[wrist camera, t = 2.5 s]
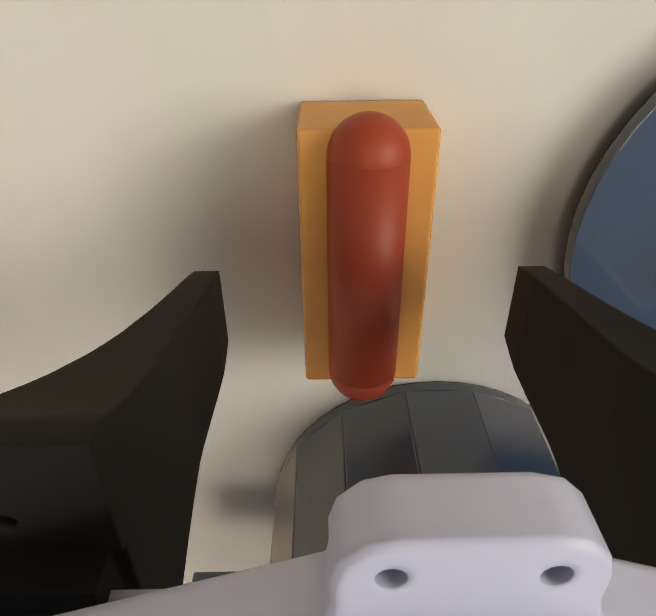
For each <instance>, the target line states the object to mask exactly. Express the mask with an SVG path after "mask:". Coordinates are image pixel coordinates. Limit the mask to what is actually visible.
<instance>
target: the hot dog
mask: <svg viewBox="0 0 656 616" xmlns="http://www.w3.org/2000/svg"><path fill="white" fill-rule="evenodd" d="M440 135H441V129H440V127H439V125H438V124H437V122H436V121H435V119H434V118H433V116H432V114H431V113H430V111H429V110H428V108H427V107H426V105H425V103H424V102H423V101H422V100H390V101H313V102H301V103H300V106H299V113H298V121H297V129H296V144H297V169H298V193H299V218H300V242H301V267H302V291H303V316H304V341H305V365H306V377H307V379H331V380H332V382H333V384H334V385H335V387H336V388H337V389H338V390H339V391H340V392H341V393H342V394H343V395H345V396H347V397H349V398H351V399H354V400H362V401H364V400H371V399H374V398H376V397H378V396H380V395H382V394H383V393H384V392H385V391H386V390H387V389H388V388H389V387H390V385H391V384H392V382H393V379H394V378H415V377H416V375H417V368H418V358H419V348H420V338H421V327H422V317H423V307H424V297H425V287H426V277H427V267H428V257H429V247H430V236H431V226H432V216H433V206H434V196H435V186H436V176H437V166H438V155H439V145H440Z"/></svg>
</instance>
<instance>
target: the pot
mask: <svg viewBox="0 0 656 616" xmlns="http://www.w3.org/2000/svg"><path fill="white" fill-rule="evenodd" d="M501 472H534V473H539V474H545V475H551V476H557V477H561V476H560V473H559V470H558V467H557V464H556V461H555V458H554V455H553V453H552V451H551V448H550V446H549V443H548V441H547V439H546V437H545V435H544V432H543V430H542V428H541V426H540V424H539V422H538V420H537V418H536V415H535V413H534V411H533V409H532V407H531V406H530V405H529V404H527V403H525V402H523V401H521V400H519V399H518V398H516V397H514V396H511V395H508V394H506V393H503V392H501V391H498V390H494V389H490V388H487V387H483V386H479V385H472V384H465V383H458V382H424V383H412V384H406V385H400V386H394V387H390V388H388V389H387V390H386V391H385V392H384V393H383V394H382V395H380V396H378V397H376V398H374V399H371V400H364V401H362V400H354V399H353V400H351V401H349V402H347V403H345V404H343V405H341V406H339V407H337V408H335V409H334V410H332V411H331V412H329V413H328V414H326V415H325V416H323V417H322V418H320V419H319V420H318V421H317V422H315V423H314V424H313V425H312V426H311V427H310V428H308V429H307V430H306V431H305V432H304V434H303V435H302V436H301V437H300V438H299V439H298V440H297V442H296V443H295V444H294V446H293V447H292V449H291V451H290V452H289V454H288V455H287V457H286V460H285V462H284V465H283V467H282V470H281V475H280V479H279V481H278V483H277V486H276V498H275V510H274V523H273V535H272V548H271V560H270V564H272V563H276V562H280V561H285V560H289V559H293V558H297V557H301V556H306V555H310V554H314V553H318V552H322V551H325V550H326V548H327V545H328V540H329V526H328V517H329V515H330V512H331V510H332V507H333V505H334V502H335V500H336V497H338V496H339V495H341V494H342V493H344V492H345V491H347V490H348V489H350V488H351V487H353V486H354V485H356V484H357V483H359V482H360V481H362V480H365V479H371V478H376V477H381V476H386V475H391V474H444V473H501ZM230 573H234V572H195V573H194V575H193V580H192V582H196V581H201V580H205V579H209V578H213V577H217V576H222V575H226V574H230Z"/></svg>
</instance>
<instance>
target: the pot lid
mask: <svg viewBox="0 0 656 616" xmlns="http://www.w3.org/2000/svg"><path fill="white" fill-rule="evenodd" d="M564 277H565V278H567V279H568V280H570V281H572V282H573V283H575V284H576V285H578V286H580V287H581V288H583V289H585V290H586V291H588V292H589V293H591V294H593V295H594V296H596V297H598V298H599V299H601V300H603V301H604V302H606V303H608V304H609V305H611V306H613V307H615V308H616V309H618V310H620V311H622V312H623V313H625V314H627V315H629V316H631V317H633V318H634V319H636V320H638V321H640V322H642V323H644V324H646V325H648V326H650V327H652V328H654V329H656V92H655V93H654V94H653V95H652V96H651V98H650V99H649V100H648V101H647V102H646V103H645V104H644V105H643V106H642V107H641V108H640V109H639V111H638V112H637V113H636V114H635V115H634V116H633V117H632V118H631V119H630V120H629V122H628V123H627V124H626V126H625V127H624V128H623V130H622V131H621V132H620V134H619V135H618V136H617V138H616V139H615V140H614V142H613V143H612V144H611V146H610V147H609V148H608V150H607V151H606V153H605V155H604V156H603V158H602V160H601V161H600V163H599V165H598V166H597V168H596V170H595V171H594V173H593V175H592V176H591V178H590V180H589V182H588V185H587V187H586V189H585V191H584V193H583V195H582V198H581V200H580V202H579V204H578V206H577V210H576V213H575V216H574V219H573V222H572V225H571V229H570V232H569V236H568V242H567V248H566V254H565V262H564Z"/></svg>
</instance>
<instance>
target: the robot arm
mask: <svg viewBox="0 0 656 616" xmlns="http://www.w3.org/2000/svg"><path fill="white" fill-rule="evenodd" d="M505 339H506V343H507V347H508V350H509V354H510V357H511V361H512V364H513V367H514V370H515V372H516V375H517V377H518V379H519V381H520V383H521V386H522V388H523V390H524V392H525V394H526V396H527V399H528V401H529V403H530V405H531V407H532V409H533V411H534V413H535V415H536V418H537V420H538V422H539V424H540V426H541V428H542V430H543V432H544V435H545V437H546V439H547V441H548V443H549V446H550V448H551V451H552V453H553V455H554V458H555V461H556V464H557V467H558V470H559V473H560V476H561V477H557V476H551V475H545V474H539V473H534V472H501V473H444V474H391V475H386V476H381V477H376V478H371V479H365V480H362V481H360V482H359V483H357V484H356V485H354V486H353V487H351V488H350V489H348V490H347V491H345V492H344V493H342V494H341V495H339V496H338V497H336V500H335V502H334V505H333V507H332V510H331V512H330V515H329V517H328V526H329V540H328V545H327V548H326V550H325V551H322V552H318V553H314V554H310V555H306V556H301V557H297V558H293V559H289V560H285V561H280V562H276V563H272V564H268V565H264V566H259V567H255V568H251V569H247V570H243V571H238V572H234V573H230V574H226V575H222V576H217V577H213V578H209V579H205V580H201V581H196V582H192V583H188V584H184V585H183V579H184V571H185V563H186V555H187V547H188V539H189V532H190V525H191V518H192V511H193V504H194V497H195V491H196V485H197V478H198V472H199V466H200V461H201V456H202V452H203V448H204V444H205V440H206V437H207V433H208V430H209V426H210V423H211V419H212V416H213V412H214V408H215V405H216V401H217V398H218V394H219V390H220V387H221V383H222V379H223V376H224V370H225V363H226V355H227V347H228V334H227V326H226V319H225V311H224V304H223V296H222V289H221V281H220V274H219V271H194V272H193V273H191V274H190V275H189V276H188V277H187V278H186V279H184V280H183V281H182V282H181V283H180V284H179V285H178V286H177V287H176V288H175V289H174V290H172V291H171V292H170V293H169V294H168V295H167V296H166V297H165V298H163V299H162V300H161V301H160V302H159V303H158V304H157V305H155V306H154V307H153V308H152V309H151V310H150V311H148V312H147V313H146V314H145V315H143V316H142V317H141V318H139V319H138V320H137V321H136V322H134V323H133V324H132V325H130V326H129V327H128V328H127V329H125V330H124V331H123V332H121V333H120V334H118V335H117V336H115V337H114V338H112V339H111V340H110V341H108V342H106V343H105V344H103V345H102V346H100V347H98V348H97V349H95V350H94V351H92V352H90V353H88V354H87V355H85V356H83V357H81V358H79V359H77V360H75V361H73V362H71V363H70V364H68V365H66V366H64V367H62V368H60V369H58V370H56V371H54V372H52V373H50V374H48V375H46V376H43V377H41V378H39V379H37V380H34V381H32V382H30V383H27V384H25V385H22V386H20V387H17V388H15V389H12V390H10V391H7V392H4V393H2V394H0V616H656V329H654V328H652V327H650V326H648V325H646V324H644V323H642V322H640V321H638V320H636V319H634V318H633V317H631V316H629V315H627V314H625V313H623V312H622V311H620V310H618V309H616V308H615V307H613V306H611V305H609V304H608V303H606V302H604V301H603V300H601V299H599V298H598V297H596V296H594V295H593V294H591V293H589V292H588V291H586V290H585V289H583V288H581V287H580V286H578V285H576V284H575V283H573V282H572V281H570V280H568V279H567V278H565V277H563V276H562V275H560V274H558V273H556V272H555V271H553V270H551V269H549V268H547V267H545V266H518V271H517V276H516V281H515V286H514V291H513V296H512V301H511V306H510V311H509V316H508V321H507V326H506V331H505Z"/></svg>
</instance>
